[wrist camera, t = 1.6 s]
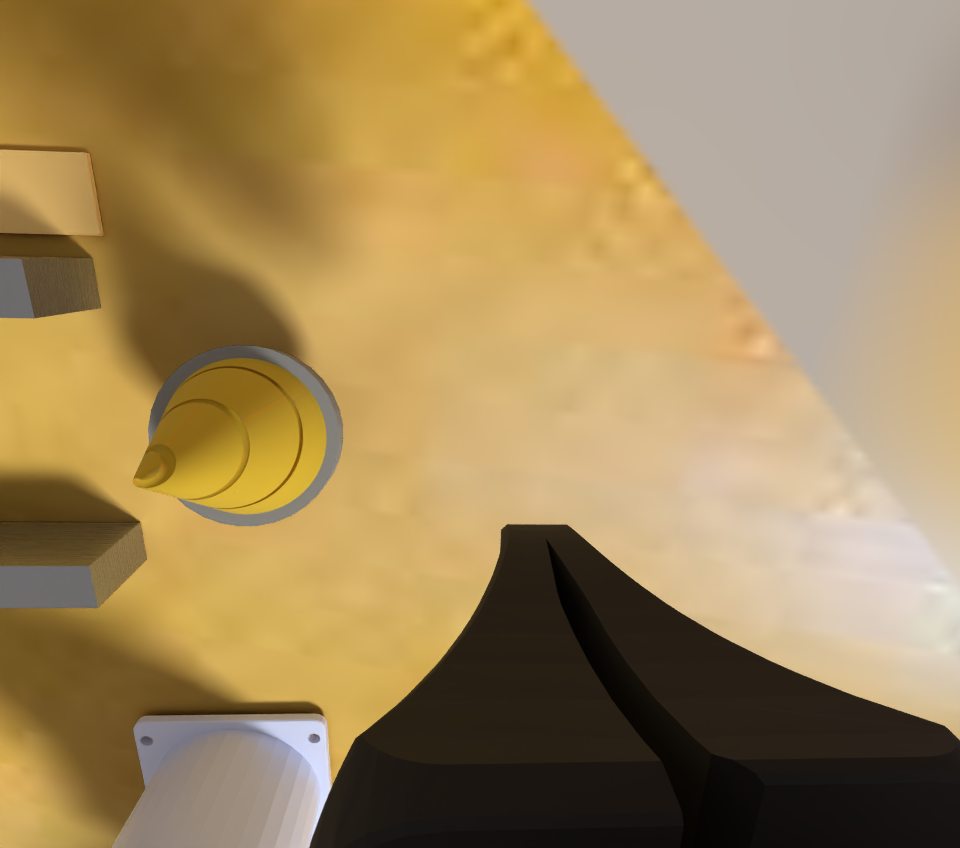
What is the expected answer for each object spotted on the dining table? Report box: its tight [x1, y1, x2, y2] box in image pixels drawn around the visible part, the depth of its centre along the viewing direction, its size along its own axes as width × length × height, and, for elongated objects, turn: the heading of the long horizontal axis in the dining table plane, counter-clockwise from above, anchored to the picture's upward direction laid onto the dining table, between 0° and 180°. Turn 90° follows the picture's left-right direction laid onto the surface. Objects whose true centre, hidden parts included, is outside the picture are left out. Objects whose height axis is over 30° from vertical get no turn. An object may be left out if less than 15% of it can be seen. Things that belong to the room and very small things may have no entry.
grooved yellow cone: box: [133, 345, 343, 526], centre depth 15 cm, size 5×5×10 cm
